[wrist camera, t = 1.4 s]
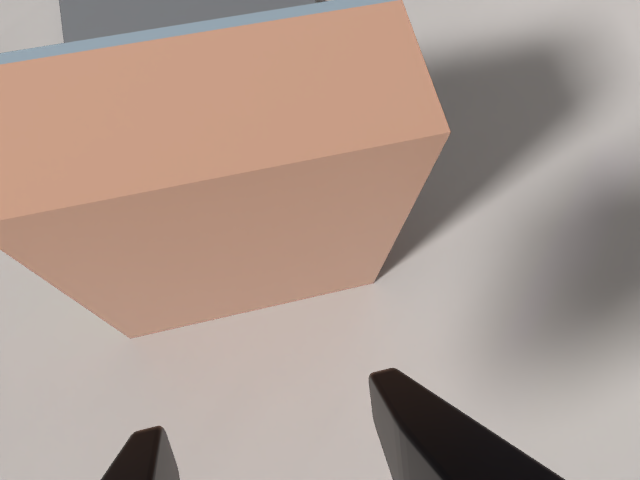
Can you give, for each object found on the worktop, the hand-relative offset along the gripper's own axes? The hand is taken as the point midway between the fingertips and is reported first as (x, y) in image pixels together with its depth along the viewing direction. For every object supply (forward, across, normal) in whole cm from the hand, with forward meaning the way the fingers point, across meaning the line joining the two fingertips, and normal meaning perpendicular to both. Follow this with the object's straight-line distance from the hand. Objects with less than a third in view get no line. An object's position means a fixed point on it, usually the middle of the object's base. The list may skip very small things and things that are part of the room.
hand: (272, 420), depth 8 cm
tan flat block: (+15, 0, +5) cm, 15 cm away
